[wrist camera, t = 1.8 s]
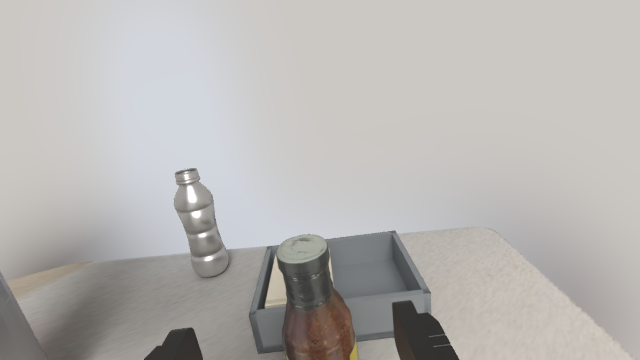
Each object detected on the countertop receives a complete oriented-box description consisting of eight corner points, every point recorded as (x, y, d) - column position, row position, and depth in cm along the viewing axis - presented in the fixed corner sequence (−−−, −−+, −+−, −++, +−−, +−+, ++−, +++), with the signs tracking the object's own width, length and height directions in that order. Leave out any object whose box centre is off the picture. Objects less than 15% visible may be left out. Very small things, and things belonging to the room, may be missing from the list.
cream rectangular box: (270, 333, 40) (263, 302, 38) (279, 277, 51) (274, 251, 49) (338, 325, 39) (334, 293, 38) (332, 270, 51) (328, 245, 49)
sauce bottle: (333, 378, 34) (308, 217, 27) (380, 416, 29) (363, 235, 23) (288, 426, 29) (247, 249, 23) (335, 480, 25) (300, 279, 19)
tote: (258, 353, 38) (249, 315, 36) (273, 276, 53) (267, 246, 51) (431, 332, 38) (430, 293, 36) (396, 260, 53) (395, 230, 51)
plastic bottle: (212, 285, 53) (182, 178, 47) (187, 277, 56) (156, 176, 50) (238, 265, 58) (214, 166, 52) (214, 259, 61) (188, 165, 55)
